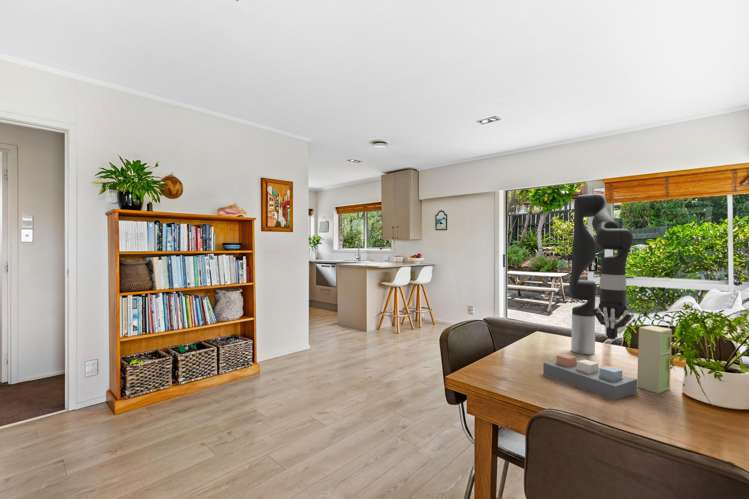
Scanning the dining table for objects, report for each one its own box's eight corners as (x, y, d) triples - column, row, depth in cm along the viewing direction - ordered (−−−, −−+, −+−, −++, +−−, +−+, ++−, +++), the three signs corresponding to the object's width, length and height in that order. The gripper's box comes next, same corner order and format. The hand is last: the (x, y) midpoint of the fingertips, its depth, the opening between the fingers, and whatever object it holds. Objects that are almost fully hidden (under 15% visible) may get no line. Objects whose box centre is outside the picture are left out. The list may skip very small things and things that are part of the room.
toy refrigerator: (660, 394, 123) (662, 331, 123) (636, 386, 129) (638, 327, 129) (673, 390, 127) (674, 329, 126) (649, 383, 133) (650, 325, 133)
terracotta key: (564, 363, 143) (564, 353, 143) (576, 367, 139) (576, 356, 139) (556, 365, 140) (556, 355, 140) (568, 369, 136) (568, 358, 136)
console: (564, 369, 147) (564, 357, 147) (636, 392, 124) (637, 379, 124) (543, 374, 141) (543, 362, 141) (615, 400, 118) (615, 386, 118)
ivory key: (584, 370, 136) (585, 359, 136) (598, 374, 132) (598, 363, 132) (576, 372, 133) (577, 361, 133) (590, 376, 129) (590, 365, 129)
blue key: (607, 377, 129) (607, 365, 129) (622, 381, 125) (622, 370, 125) (599, 379, 126) (599, 367, 126) (614, 384, 122) (614, 372, 122)
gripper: (640, 289, 121) (639, 342, 121) (599, 285, 133) (598, 333, 133) (627, 290, 117) (626, 345, 118) (586, 286, 129) (585, 335, 129)
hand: (611, 338), depth 125 cm, fingers closed
